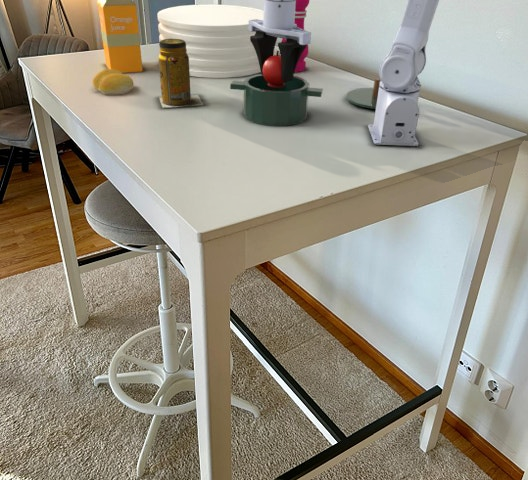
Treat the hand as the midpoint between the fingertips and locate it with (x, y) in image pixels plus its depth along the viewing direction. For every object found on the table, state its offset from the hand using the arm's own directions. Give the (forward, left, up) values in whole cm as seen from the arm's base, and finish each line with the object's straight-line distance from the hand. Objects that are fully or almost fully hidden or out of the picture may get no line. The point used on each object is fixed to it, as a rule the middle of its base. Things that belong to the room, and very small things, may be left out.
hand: (276, 77), depth 106 cm
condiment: (+6, +20, -8) cm, 22 cm away
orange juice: (+31, +38, -8) cm, 50 cm away
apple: (0, 0, -1) cm, 1 cm away
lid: (+11, -22, -7) cm, 26 cm away
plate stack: (+39, +16, -8) cm, 43 cm away
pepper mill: (+36, -4, -8) cm, 37 cm away
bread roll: (+13, +36, -8) cm, 39 cm away
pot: (0, 0, -7) cm, 7 cm away
